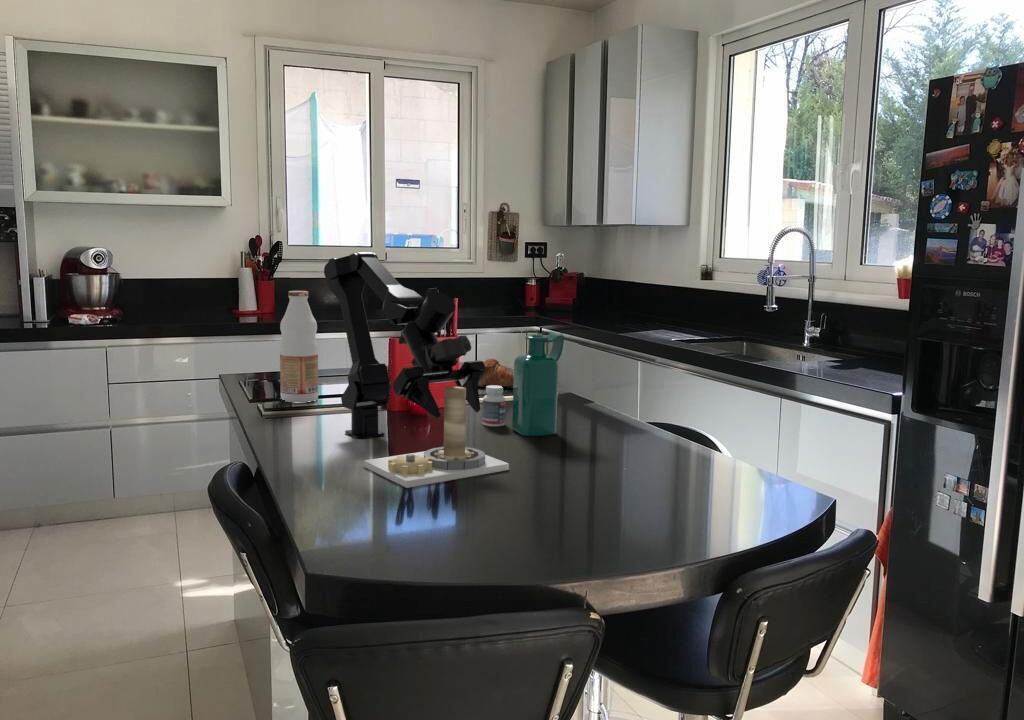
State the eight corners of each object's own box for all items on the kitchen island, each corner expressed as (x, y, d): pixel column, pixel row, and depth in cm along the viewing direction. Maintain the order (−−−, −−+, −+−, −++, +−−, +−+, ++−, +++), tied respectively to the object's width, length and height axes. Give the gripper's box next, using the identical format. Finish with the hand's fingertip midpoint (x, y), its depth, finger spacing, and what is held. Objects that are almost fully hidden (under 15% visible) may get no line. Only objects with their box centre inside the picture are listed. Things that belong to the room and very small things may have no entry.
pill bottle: (502, 427, 200) (503, 389, 198) (480, 426, 201) (480, 388, 200) (507, 422, 205) (507, 385, 204) (485, 421, 206) (486, 384, 205)
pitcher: (523, 437, 191) (526, 337, 188) (509, 429, 199) (511, 332, 195) (564, 434, 194) (567, 336, 191) (549, 426, 202) (552, 331, 199)
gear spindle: (432, 456, 168) (433, 385, 166) (471, 456, 169) (472, 384, 167) (435, 467, 161) (436, 392, 159) (476, 466, 162) (477, 392, 160)
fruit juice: (280, 404, 219) (278, 292, 215) (280, 397, 228) (279, 289, 224) (318, 403, 222) (318, 292, 217) (317, 396, 231) (316, 290, 226)
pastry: (468, 391, 244) (469, 363, 243) (452, 382, 258) (452, 355, 257) (524, 389, 250) (525, 361, 249) (505, 380, 264) (506, 354, 263)
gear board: (363, 466, 165) (363, 447, 164) (461, 451, 178) (462, 433, 177) (406, 487, 152) (406, 467, 151) (508, 469, 165) (509, 450, 164)
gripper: (401, 324, 158) (436, 393, 152) (482, 319, 170) (518, 383, 164) (378, 361, 165) (410, 429, 159) (457, 354, 177) (490, 417, 171)
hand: (459, 414), depth 163 cm, fingers open, 9 cm apart
